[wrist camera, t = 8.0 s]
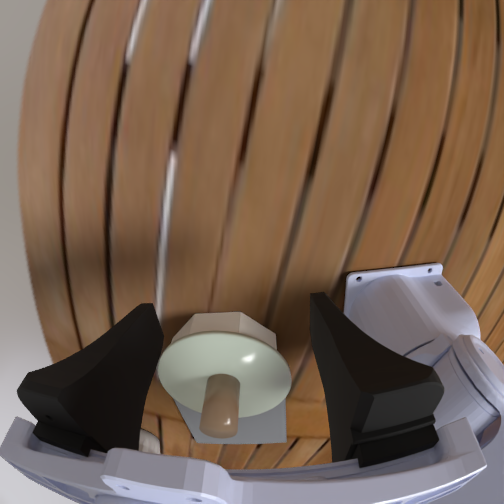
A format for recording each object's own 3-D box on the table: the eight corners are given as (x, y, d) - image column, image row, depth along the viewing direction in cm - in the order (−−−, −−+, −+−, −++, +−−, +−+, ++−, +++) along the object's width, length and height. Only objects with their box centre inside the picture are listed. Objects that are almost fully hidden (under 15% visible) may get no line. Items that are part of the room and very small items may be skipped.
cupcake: (140, 449, 40) (128, 495, 30) (102, 422, 36) (84, 471, 27) (181, 447, 38) (171, 500, 29) (142, 418, 34) (125, 476, 25)
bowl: (273, 309, 25) (275, 332, 22) (278, 380, 29) (280, 402, 26) (164, 314, 25) (155, 336, 23) (189, 383, 30) (184, 404, 27)
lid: (308, 342, 22) (318, 397, 17) (273, 418, 28) (274, 462, 23) (158, 317, 22) (136, 369, 17) (161, 401, 27) (149, 444, 22)
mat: (284, 389, 30) (284, 391, 29) (286, 439, 35) (286, 441, 35) (171, 390, 30) (170, 393, 30) (197, 440, 36) (197, 442, 36)
